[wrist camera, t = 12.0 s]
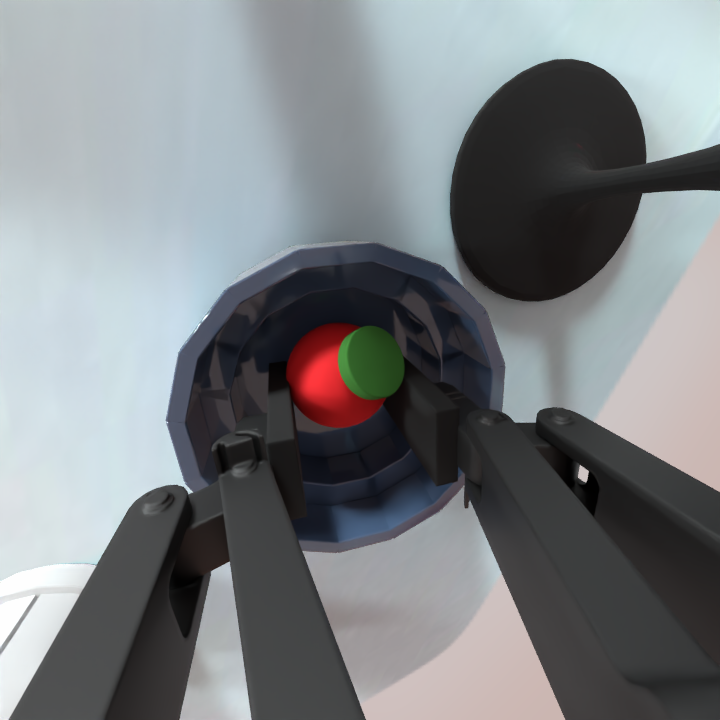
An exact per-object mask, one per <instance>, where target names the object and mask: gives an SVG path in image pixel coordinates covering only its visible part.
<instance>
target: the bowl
mask: <svg viewBox="0 0 720 720" xmlns="http://www.w3.org/2000/svg"><path fill="white" fill-rule="evenodd" d="M329 323H349V324H353V325H356V326H359V327H364V326H376V327H379V328H381V329H383V330H385V331H387V332H388V333H389V334H390V335H391V336H392V337H393V338H394V339H395V340H396V342H397V343H398V345H399V347H400V349H401V352H402V355H403V356H404V357H405V358H406V359H408V360H409V361H410V362H411V363H412V364H413V365H414V366H415V367H416V368H417V369H418V370H420V371H421V372H422V373H423V374H424V375H425V376H426V377H427V378H428V379H429V380H430V381H432V382H433V383H438V382H445V383H448V384H450V385H453V386H454V387H456V388H457V389H458V390H459V391H460V392H461V393H463V394H464V395H465V396H466V398H467V397H468V398H469V399H470V400H471V401H473V402H474V403H475V404H476V405H477V406H479V407H480V408H481V409H492V410H497V411H500V412H502V405H503V391H504V377H505V362H504V360H503V357H502V354H501V351H500V348H499V345H498V342H497V340H496V337H495V334H494V331H493V328H492V325H491V322H490V320H489V317H488V314H487V312H486V310H485V308H484V307H483V306H482V305H481V304H480V303H479V302H478V301H477V300H476V299H475V298H474V297H473V296H472V295H471V294H470V293H469V292H468V291H467V290H466V289H465V288H464V287H463V286H462V285H461V284H460V283H459V282H458V281H457V280H456V279H455V278H454V277H453V276H452V275H451V274H450V273H449V272H448V271H447V270H446V269H445V268H444V267H442V266H441V265H439V264H436V263H433V262H431V261H428V260H425V259H422V258H419V257H416V256H414V255H411V254H408V253H405V252H402V251H400V250H397V249H394V248H391V247H388V246H385V245H383V244H380V243H375V242H362V241H338V242H327V243H315V244H304V245H293V246H292V247H291V246H289V247H288V248H286V249H284V250H282V251H280V252H279V253H277V254H275V255H273V256H271V257H269V258H268V259H266V260H264V261H262V262H260V263H259V264H257V265H255V266H253V267H251V268H249V269H248V270H246V271H244V272H242V273H240V274H239V275H238V276H237V277H236V278H235V279H234V281H233V282H232V283H231V284H230V285H229V286H228V287H227V288H226V289H225V290H224V291H223V293H222V294H221V295H220V297H219V298H218V299H217V301H216V302H215V303H214V305H213V306H212V307H211V309H210V310H209V311H208V313H207V314H206V315H205V317H204V318H203V319H202V321H201V322H200V323H199V325H198V326H197V327H196V329H195V330H194V331H193V333H192V334H191V335H190V337H189V338H188V340H187V341H186V342H185V344H184V345H183V346H182V348H181V349H180V351H179V353H178V357H177V362H176V368H175V373H174V379H173V384H172V389H171V395H170V400H169V405H168V411H167V416H166V421H167V422H166V423H167V427H168V430H169V433H170V436H171V440H172V443H173V446H174V450H175V453H176V456H177V459H178V463H179V466H180V469H181V472H182V476H183V479H184V482H185V484H186V485H187V486H188V487H189V488H190V489H191V490H192V491H193V492H196V491H198V490H201V489H203V488H205V487H207V486H209V485H211V484H213V483H214V482H216V481H217V480H218V479H219V478H218V473H217V469H216V466H215V462H214V458H213V454H212V446H213V444H214V443H215V442H216V441H217V440H218V439H219V438H221V437H222V436H224V435H226V434H228V433H231V432H234V431H235V427H236V425H237V423H238V422H239V421H240V420H241V419H242V418H243V417H247V416H253V415H258V414H264V413H267V407H268V378H269V363H274V362H281V361H286V362H287V363H288V360H289V357H290V354H291V352H292V350H293V348H294V347H295V345H296V344H297V343H298V341H299V340H300V339H301V338H302V337H303V336H304V335H306V334H307V333H308V332H309V331H311V330H313V329H315V328H317V327H319V326H322V325H324V324H329ZM293 406H294V412H295V419H296V428H297V436H298V444H299V452H300V460H301V469H302V477H303V485H304V493H305V502H306V510H307V517H303V518H298V519H294V520H291V523H292V525H293V528H294V531H295V533H296V536H297V539H298V541H299V544H300V547H301V549H302V551H310V552H327V553H337V552H338V553H340V552H344V551H348V550H352V549H356V548H360V547H364V546H368V545H372V544H376V543H379V542H383V541H387V540H391V539H392V538H396V537H397V536H399V535H401V534H402V533H404V532H406V531H407V530H409V529H411V528H412V527H414V526H416V525H417V524H419V523H421V522H423V521H424V520H426V519H428V518H429V517H431V516H433V515H434V514H436V513H438V512H439V511H440V510H442V509H443V508H444V507H445V506H446V505H447V503H448V502H449V501H450V500H451V499H452V498H453V497H454V496H455V495H456V494H457V493H458V492H459V490H460V489H461V488H462V487H463V486H464V485H465V474H464V473H463V471H462V470H461V469H460V468H459V466H458V482H454V483H449V484H445V485H441V486H436V485H435V484H434V482H433V481H432V479H431V478H430V476H429V475H428V473H427V472H426V470H425V469H424V467H423V465H422V464H421V462H420V461H419V459H418V458H417V456H416V455H415V453H414V452H413V450H412V449H411V447H410V445H409V444H408V442H407V441H406V439H405V438H404V436H403V435H402V433H401V432H400V430H399V429H398V427H397V425H396V424H395V422H394V421H393V419H392V418H391V416H390V415H389V413H388V412H387V410H386V409H385V407H384V405H383V404H382V406H381V407H380V408H379V410H378V411H377V412H376V413H375V414H373V415H372V416H371V417H370V418H368V419H367V420H365V421H363V422H362V423H359V424H357V425H354V426H350V427H343V428H333V427H328V426H323V425H320V424H318V423H316V422H314V421H312V420H310V419H309V418H307V417H306V416H305V415H304V414H303V413H302V412H301V411H300V410H299V409H298V408H297V407H296V405H295V404H294V402H293Z"/></svg>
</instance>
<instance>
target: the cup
mask: <svg viewBox="0 0 720 720" xmlns="http://www.w3.org/2000/svg"><path fill="white" fill-rule="evenodd" d="M95 567H96V565H91V564H56V565H49V566H45V567H40V568H36V569H32V570H28V571H23V572H19V573H17V574H15V575H13V576H11V577H9V578H7V579H5V580H3V581H1V582H0V720H9V718H10V716H11V714H12V713H13V711H14V709H15V707H16V706H17V704H18V702H19V700H20V699H21V697H22V695H23V693H24V692H25V690H26V688H27V686H28V685H29V683H30V681H31V679H32V678H33V676H34V674H35V672H36V671H37V669H38V667H39V665H40V664H41V662H42V660H43V658H44V657H45V655H46V653H47V651H48V650H49V648H50V646H51V644H52V643H53V641H54V639H55V637H56V636H57V634H58V632H59V630H60V629H61V627H62V625H63V623H64V622H65V620H66V618H67V616H68V615H69V613H70V611H71V609H72V608H73V606H74V604H75V602H76V601H77V599H78V597H79V595H80V594H81V592H82V590H83V588H84V587H85V585H86V583H87V581H88V580H89V578H90V576H91V574H92V573H93V571H94V569H95Z"/></svg>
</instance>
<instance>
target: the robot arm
mask: <svg viewBox="0 0 720 720" xmlns="http://www.w3.org/2000/svg"><path fill="white" fill-rule="evenodd" d="M403 358H404V365H405V371H404V378H403V381H402V383H401V385H400V387H399V388H398V390H397V391H396V392H395V393H394V394H392V395H391V396H389V397H386V399H385V401H384V403H383V405H384V407H385V409H386V410H387V412H388V413H389V415H390V416H391V418H392V419H393V421H394V422H395V424H396V425H397V427H398V429H399V430H400V432H401V433H402V435H403V436H404V438H405V439H406V441H407V442H408V444H409V445H410V447H411V449H412V450H413V452H414V453H415V455H416V456H417V458H418V459H419V461H420V462H421V464H422V465H423V467H424V469H425V470H426V472H427V473H428V475H429V476H430V478H431V479H432V481H433V482H434V484H435V485H436V486H441V485H445V484H449V483H454V482H458V466H459V468H460V469H461V470H462V471H463V473H464V474H465V490H464V506H465V508H468V502H469V500H470V501H471V503H472V505H473V508H474V510H475V512H476V515H477V517H478V519H479V522H480V524H481V526H482V528H483V531H484V533H485V535H486V538H487V540H488V542H489V545H490V547H491V549H492V552H493V554H494V556H495V558H496V561H497V563H498V565H499V568H500V570H501V572H502V575H503V577H504V579H505V582H506V584H507V586H508V588H509V591H510V593H511V595H512V597H513V600H514V602H515V604H516V607H517V609H518V611H519V614H520V616H521V618H522V621H523V623H524V625H525V627H526V630H527V632H528V634H529V637H530V639H531V641H532V644H533V646H534V648H535V651H536V653H537V655H538V657H539V660H540V662H541V665H542V667H543V669H544V671H545V674H546V676H547V678H548V681H549V683H550V685H551V688H552V690H553V692H554V695H555V697H556V699H557V701H558V704H559V706H560V708H561V711H562V713H563V715H564V717H565V720H720V492H718V491H716V490H714V489H713V488H711V487H709V486H708V485H706V484H704V483H702V482H700V481H699V480H697V479H695V478H693V477H691V476H689V475H688V474H686V473H684V472H682V471H681V470H679V469H677V468H675V467H673V466H671V465H670V464H668V463H666V462H664V461H662V460H661V459H659V458H657V457H655V456H654V455H652V454H650V453H648V452H646V451H645V450H643V449H641V448H639V447H637V446H636V445H634V444H632V443H630V442H629V441H627V440H625V439H623V438H621V437H620V436H618V435H616V434H614V433H612V432H610V431H609V430H607V429H605V428H603V427H601V426H600V425H598V424H596V423H594V422H593V421H591V420H589V419H587V418H585V417H584V416H582V415H580V414H578V413H576V412H573V411H571V410H566V409H564V408H557V407H553V408H546V409H543V410H540V411H539V412H538V413H537V418H536V423H514V421H513V420H512V419H511V418H510V417H509V416H508V415H506V414H505V413H502V412H500V411H497V410H492V409H481V408H480V407H479V406H477V405H476V404H475V403H474V402H473V401H471V400H470V399H469V398H468V397H467V398H466V396H465V395H464V394H463V393H461V392H460V391H459V390H458V389H457V388H456V387H454V386H453V385H450V384H448V383H445V382H438V383H433V382H432V381H430V380H429V379H428V378H427V377H426V376H425V375H424V374H423V373H422V372H421V371H420V370H418V369H417V368H416V367H415V366H414V365H413V364H412V363H411V362H410V361H409V360H408V359H406V358H405V357H404V356H403ZM286 368H287V362H286V361H281V362H274V363H269V378H268V407H267V413H264V414H258V415H253V416H247V417H243V418H242V419H241V420H240V421H239V422H238V423H237V425H236V427H235V431H234V432H231V433H228V434H226V435H224V436H222V437H221V438H219V439H218V440H217V441H216V442H215V443H214V444H213V446H212V454H213V458H214V462H215V466H216V469H217V473H218V478H219V479H218V480H217V481H216V482H214V483H213V484H211V485H209V486H207V487H205V488H203V489H201V490H198V491H196V492H194V493H191V494H189V495H188V492H187V491H186V489H185V488H184V487H182V486H178V485H168V486H163V487H160V488H156V489H154V490H152V491H150V492H148V493H146V494H144V495H143V496H142V497H140V498H139V499H137V500H136V501H135V502H134V503H133V504H132V506H131V507H130V508H129V509H128V511H127V513H126V515H125V517H124V518H123V520H122V522H121V524H120V525H119V527H118V529H117V531H116V532H115V534H114V536H113V538H112V539H111V541H110V543H109V545H108V546H107V548H106V550H105V552H104V553H103V555H102V557H101V559H100V560H99V562H98V564H97V566H96V567H95V569H94V571H93V573H92V574H91V576H90V578H89V580H88V581H87V583H86V585H85V587H84V588H83V590H82V592H81V594H80V595H79V597H78V599H77V601H76V602H75V604H74V606H73V608H72V609H71V611H70V613H69V615H68V616H67V618H66V620H65V622H64V623H63V625H62V627H61V629H60V630H59V632H58V634H57V636H56V637H55V639H54V641H53V643H52V644H51V646H50V648H49V650H48V651H47V653H46V655H45V657H44V658H43V660H42V662H41V664H40V665H39V667H38V669H37V671H36V672H35V674H34V676H33V678H32V679H31V681H30V683H29V685H28V686H27V688H26V690H25V692H24V693H23V695H22V697H21V699H20V700H19V702H18V704H17V706H16V707H15V709H14V711H13V713H12V714H11V716H10V718H9V720H179V719H180V714H181V709H182V705H183V700H184V696H185V691H186V686H187V682H188V677H189V673H190V668H191V664H192V659H193V654H194V650H195V645H196V641H197V636H198V631H199V627H200V622H201V618H202V613H203V608H204V604H205V599H206V595H207V590H208V586H209V581H210V576H211V571H212V570H214V569H216V568H218V567H220V566H222V565H223V564H225V563H227V562H229V561H230V565H231V572H232V580H233V587H234V594H235V601H236V609H237V616H238V623H239V631H240V638H241V645H242V652H243V660H244V667H245V674H246V682H247V689H248V696H249V703H250V711H251V718H252V720H366V719H365V716H364V714H363V711H362V709H361V706H360V703H359V700H358V698H357V695H356V692H355V690H354V687H353V684H352V682H351V679H350V676H349V674H348V671H347V669H346V666H345V663H344V661H343V658H342V655H341V653H340V650H339V647H338V645H337V642H336V639H335V637H334V634H333V631H332V629H331V626H330V623H329V621H328V618H327V615H326V613H325V610H324V608H323V605H322V602H321V600H320V597H319V594H318V592H317V589H316V586H315V584H314V581H313V578H312V576H311V573H310V570H309V568H308V565H307V562H306V560H305V557H304V554H303V552H302V549H301V547H300V544H299V541H298V539H297V536H296V533H295V531H294V528H293V525H292V523H291V520H294V519H298V518H303V517H307V510H306V502H305V493H304V485H303V477H302V469H301V460H300V452H299V444H298V436H297V428H296V419H295V412H294V406H293V400H292V398H291V394H290V388H289V382H288V381H287V379H286ZM580 465H581V466H583V467H584V468H586V469H587V470H588V471H589V474H588V480H587V482H586V483H585V482H583V481H581V480H580V479H579V478H578V472H579V466H580Z"/></svg>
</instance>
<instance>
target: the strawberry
mask: <svg viewBox="0 0 720 720" xmlns="http://www.w3.org/2000/svg"><path fill="white" fill-rule="evenodd" d="M404 371H405V365H404V358H403V355H402V352H401V349H400V347H399V345H398V343H397V342H396V340H395V339H394V338H393V337H392V336H391V335H390V334H389V333H388V332H387V331H385V330H383V329H381V328H379V327H376V326H364V327H359V326H356V325H353V324H349V323H329V324H324V325H322V326H319V327H317V328H315V329H313V330H311V331H309V332H308V333H307V334H306V335H304V336H303V337H302V338H301V339H300V340H299V341H298V343H297V344H296V345H295V347H294V348H293V350H292V352H291V354H290V357H289V360H288V363H287V368H286V379H287V381H288V382H289V388H290V394H291V398H292V400H293V402H294V404H295V405H296V407H297V408H298V409H299V410H300V411H301V412H302V413H303V414H304V415H305V416H306V417H307V418H309V419H310V420H312V421H314V422H316V423H318V424H320V425H323V426H328V427H333V428H343V427H350V426H354V425H357V424H359V423H362V422H363V421H365V420H367V419H368V418H370V417H371V416H372V415H373V414H375V413H376V412H377V411H378V410H379V408H380V407H381V406H382V404H383V403H384V401H385V399H386V397H389V396H391V395H392V394H394V393H395V392H396V391H397V390H398V388H399V387H400V385H401V383H402V381H403V378H404Z"/></svg>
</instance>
